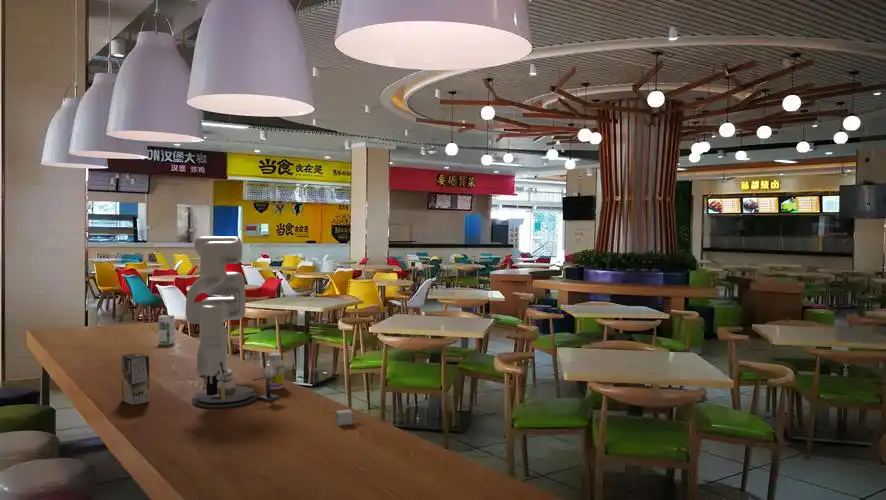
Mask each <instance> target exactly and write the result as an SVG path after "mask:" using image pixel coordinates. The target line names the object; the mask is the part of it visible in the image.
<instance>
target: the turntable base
mask: <svg viewBox="0 0 886 500" xmlns="http://www.w3.org/2000/svg"><path fill="white" fill-rule="evenodd" d="M258 396H259V395H258V394H257V393H256V392H255V395H254V397H252V398H250V399H248V400H244V401H240V402H235V403H226V404H208V403H201V402H198V401H196V400H195V396H194V397H192V399H191V404H192V405H193V406H195V407H197V408H202V409H230V408H237V407H238V408H239V407H243V406H247V405H249V404H252V403H255V402H256V401H257V400H259V399H258Z"/></svg>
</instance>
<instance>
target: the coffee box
mask: <svg viewBox="0 0 886 500" xmlns="http://www.w3.org/2000/svg"><path fill="white" fill-rule="evenodd" d="M120 363H121V367H120V370H121V373H120V374H121V401H122V400H123V401H122V402H124V401H125V402H124V403H126V402H127V403H126V404H129V405H132V406H135V404H136V405H139V404H140V405H141V404H145V403H150V401H151V400H150V397H151V396H150V356H149V355H147V354H142V353H140V352H139V353H138V352H137V353H135V352H134V353H128V354H122V355H120Z"/></svg>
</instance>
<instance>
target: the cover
mask: <svg viewBox="0 0 886 500" xmlns="http://www.w3.org/2000/svg"><path fill="white" fill-rule="evenodd" d="M222 383H226V395H227V394H233V393H235V386H236V380H235V379H232V376H231V375H226V376H223V379H219V381H218V383H217V387H218V394H221V384H222Z"/></svg>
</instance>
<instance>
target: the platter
mask: <svg viewBox="0 0 886 500" xmlns="http://www.w3.org/2000/svg"><path fill="white" fill-rule="evenodd" d="M255 391H256V390H255V389H254V388H252V387H248V386H243V385H241V386H240V385H235V393H233V394H227V395H226V383H222V384H221V394H218V386H217V394H216V395H211V396H209V395H207V391H206V388H205V389H202V390H198V391H197V392H196V393H195V394H194V397H195V400H196V401H198V402H201V403H208V404H226V403H235V402H240V401H244V400H248V399H250V398H252V397H254V395H255V393H256V392H255Z"/></svg>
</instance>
